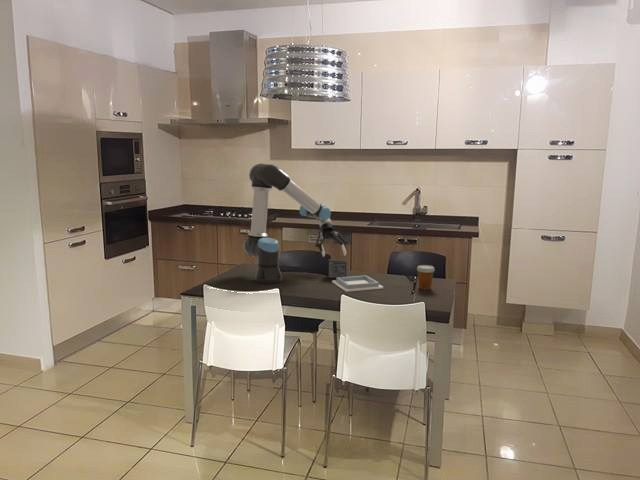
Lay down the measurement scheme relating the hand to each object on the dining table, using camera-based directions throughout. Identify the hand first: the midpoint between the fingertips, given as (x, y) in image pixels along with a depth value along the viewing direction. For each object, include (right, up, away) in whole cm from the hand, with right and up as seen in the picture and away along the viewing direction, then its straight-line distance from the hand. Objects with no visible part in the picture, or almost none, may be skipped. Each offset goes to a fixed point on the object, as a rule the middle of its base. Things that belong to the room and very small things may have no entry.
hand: (334, 255), depth 302 cm
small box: (+1, -13, -5) cm, 14 cm away
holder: (+12, -16, -22) cm, 29 cm away
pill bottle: (+48, -18, -25) cm, 57 cm away
